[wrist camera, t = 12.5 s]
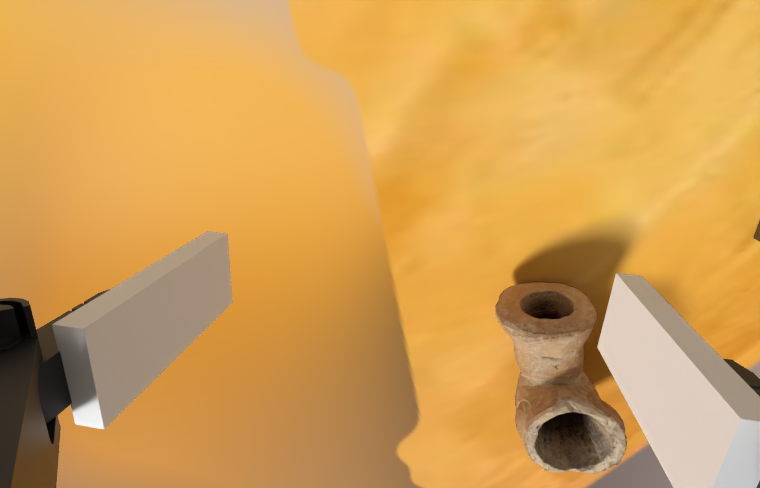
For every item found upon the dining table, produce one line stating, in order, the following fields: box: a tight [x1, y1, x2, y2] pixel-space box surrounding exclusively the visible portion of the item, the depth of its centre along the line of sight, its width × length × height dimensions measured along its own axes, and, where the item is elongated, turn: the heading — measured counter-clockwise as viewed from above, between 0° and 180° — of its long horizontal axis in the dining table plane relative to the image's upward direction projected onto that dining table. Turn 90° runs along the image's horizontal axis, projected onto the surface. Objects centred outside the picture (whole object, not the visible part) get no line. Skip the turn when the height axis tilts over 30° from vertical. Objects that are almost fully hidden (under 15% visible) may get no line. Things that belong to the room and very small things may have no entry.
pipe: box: [496, 282, 627, 473], centre depth 42 cm, size 9×16×10 cm, turn 15°
